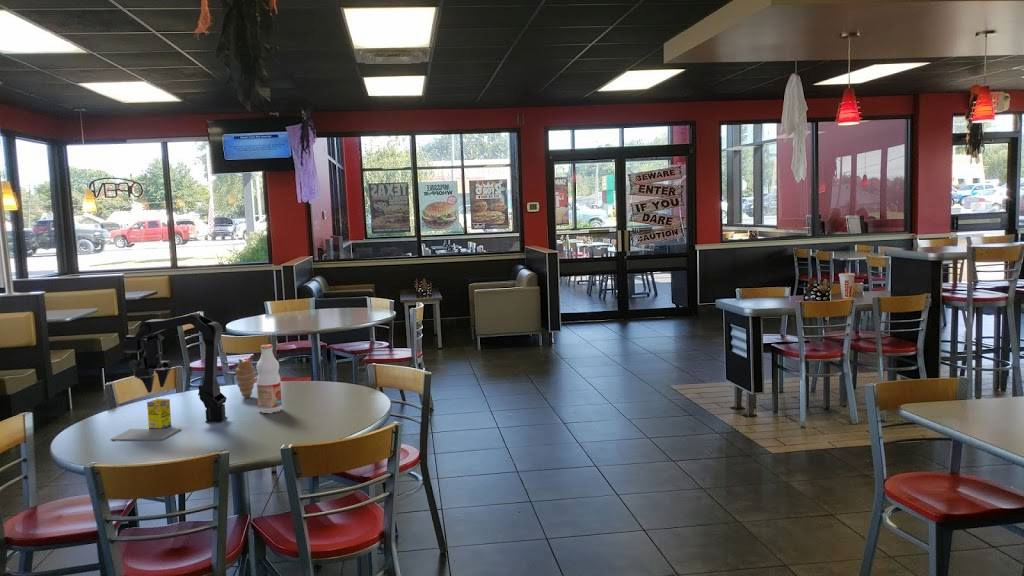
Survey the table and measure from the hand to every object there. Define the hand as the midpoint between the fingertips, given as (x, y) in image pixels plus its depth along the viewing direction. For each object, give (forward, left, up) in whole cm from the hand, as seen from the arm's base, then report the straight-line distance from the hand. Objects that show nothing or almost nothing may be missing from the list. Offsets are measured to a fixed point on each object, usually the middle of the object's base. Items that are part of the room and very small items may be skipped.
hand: (155, 389), depth 305 cm
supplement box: (-6, +9, -13) cm, 17 cm away
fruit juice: (-41, -15, -13) cm, 45 cm away
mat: (-6, +19, -13) cm, 24 cm away
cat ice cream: (-21, -38, -13) cm, 45 cm away
